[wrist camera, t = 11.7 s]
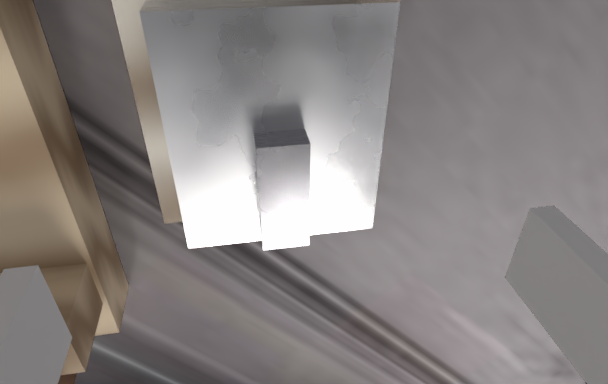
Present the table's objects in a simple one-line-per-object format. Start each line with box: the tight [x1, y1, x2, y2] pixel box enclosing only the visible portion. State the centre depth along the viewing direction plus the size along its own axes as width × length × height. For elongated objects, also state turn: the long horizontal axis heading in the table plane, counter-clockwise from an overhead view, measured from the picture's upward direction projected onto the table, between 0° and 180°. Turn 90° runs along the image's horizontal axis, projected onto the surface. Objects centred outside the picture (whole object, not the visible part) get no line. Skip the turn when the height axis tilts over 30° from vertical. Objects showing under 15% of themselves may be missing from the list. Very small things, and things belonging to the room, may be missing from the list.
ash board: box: [111, 0, 400, 224], centre depth 21 cm, size 14×12×1 cm
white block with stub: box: [139, 0, 400, 250], centre depth 18 cm, size 10×8×6 cm
